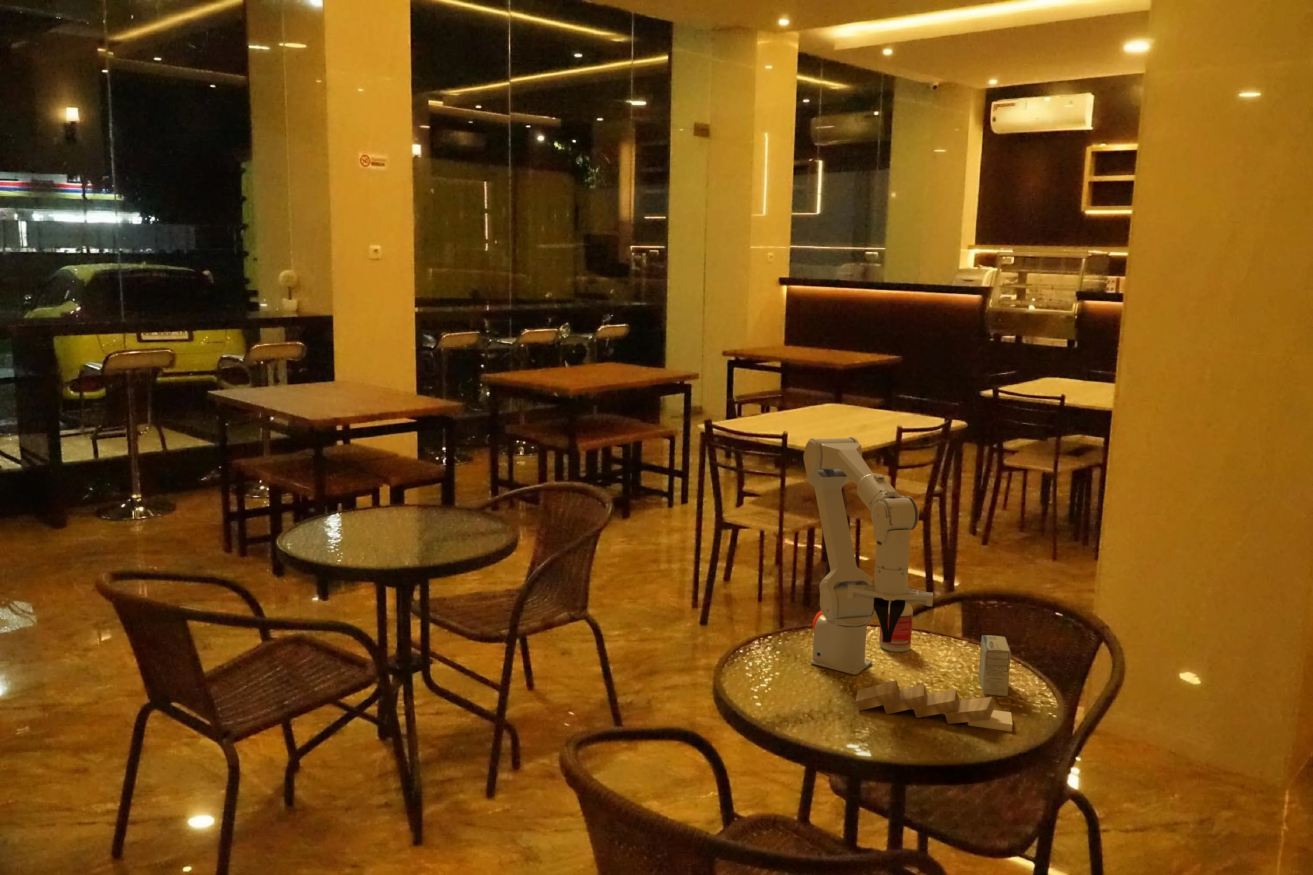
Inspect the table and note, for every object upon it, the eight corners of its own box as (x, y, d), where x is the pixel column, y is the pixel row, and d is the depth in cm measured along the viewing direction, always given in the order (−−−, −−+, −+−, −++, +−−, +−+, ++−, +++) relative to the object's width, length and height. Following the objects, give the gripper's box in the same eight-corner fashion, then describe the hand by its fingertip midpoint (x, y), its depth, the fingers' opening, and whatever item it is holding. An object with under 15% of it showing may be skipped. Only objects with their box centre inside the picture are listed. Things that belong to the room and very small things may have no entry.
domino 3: (913, 707, 176) (954, 700, 174) (916, 696, 181) (956, 688, 178) (916, 717, 176) (957, 710, 174) (919, 706, 181) (959, 698, 178)
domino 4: (944, 713, 174) (986, 709, 171) (951, 701, 178) (991, 696, 175) (947, 723, 174) (989, 719, 171) (954, 710, 179) (994, 706, 175)
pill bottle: (915, 651, 206) (919, 598, 205) (887, 653, 205) (890, 600, 203) (901, 640, 212) (905, 588, 211) (873, 642, 211) (877, 590, 209)
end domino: (968, 718, 174) (1012, 724, 172) (968, 706, 179) (1011, 712, 177) (967, 728, 174) (1011, 734, 172) (967, 716, 179) (1010, 722, 177)
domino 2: (883, 704, 177) (923, 695, 175) (884, 693, 182) (923, 684, 180) (886, 714, 177) (926, 705, 175) (887, 702, 182) (927, 693, 180)
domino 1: (855, 701, 178) (895, 691, 176) (857, 689, 183) (896, 679, 181) (859, 710, 178) (898, 700, 176) (861, 699, 183) (899, 689, 181)
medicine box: (1007, 697, 186) (1012, 651, 184) (981, 694, 187) (985, 648, 185) (1002, 680, 193) (1006, 636, 192) (977, 677, 194) (981, 633, 193)
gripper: (847, 567, 179) (843, 643, 181) (934, 575, 175) (929, 652, 177) (851, 557, 186) (847, 630, 188) (934, 565, 182) (930, 639, 184)
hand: (887, 640), depth 183 cm, fingers closed
